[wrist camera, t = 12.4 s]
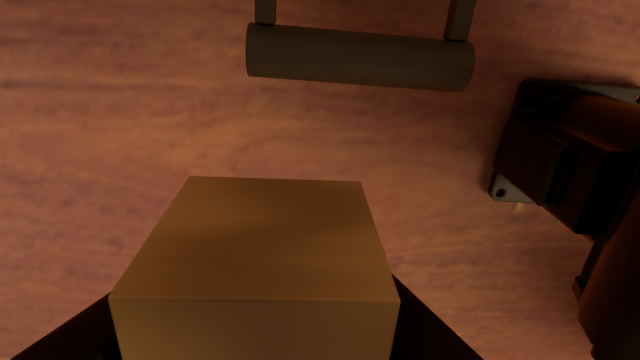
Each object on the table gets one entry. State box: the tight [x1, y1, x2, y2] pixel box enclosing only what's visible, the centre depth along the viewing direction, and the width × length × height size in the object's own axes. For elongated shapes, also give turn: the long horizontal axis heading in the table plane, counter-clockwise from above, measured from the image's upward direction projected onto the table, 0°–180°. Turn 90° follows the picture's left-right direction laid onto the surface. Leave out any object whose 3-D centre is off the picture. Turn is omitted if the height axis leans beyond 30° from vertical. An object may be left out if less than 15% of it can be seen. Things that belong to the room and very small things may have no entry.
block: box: [108, 176, 401, 360], centre depth 8 cm, size 4×4×4 cm
